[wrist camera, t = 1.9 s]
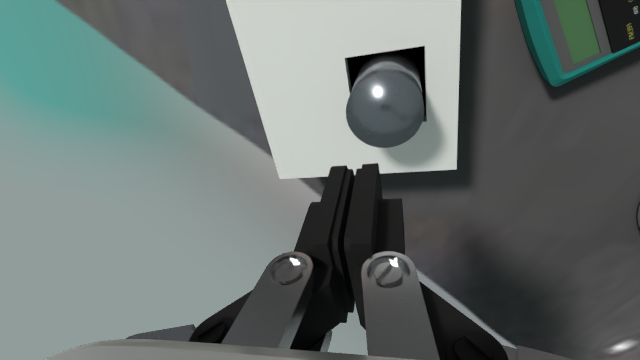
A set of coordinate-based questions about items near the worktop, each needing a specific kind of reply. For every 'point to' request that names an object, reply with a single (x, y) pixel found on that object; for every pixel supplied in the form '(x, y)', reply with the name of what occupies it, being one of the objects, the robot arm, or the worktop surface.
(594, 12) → the digital multimeter
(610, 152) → the worktop surface
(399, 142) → the charcoal plunger
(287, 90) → the panel
